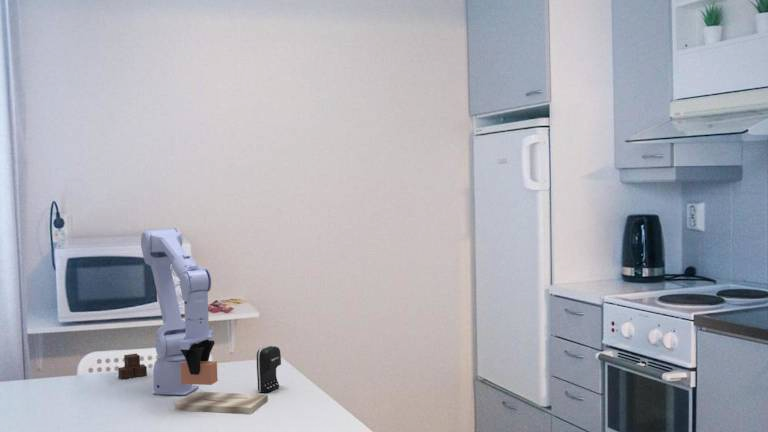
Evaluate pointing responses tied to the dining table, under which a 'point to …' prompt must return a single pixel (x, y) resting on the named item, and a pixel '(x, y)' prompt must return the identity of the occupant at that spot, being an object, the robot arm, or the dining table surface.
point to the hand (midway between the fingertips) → (198, 372)
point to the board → (221, 402)
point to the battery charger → (268, 368)
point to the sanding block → (200, 373)
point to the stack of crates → (132, 367)
